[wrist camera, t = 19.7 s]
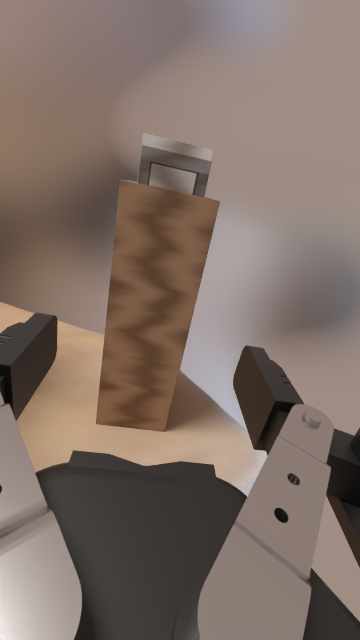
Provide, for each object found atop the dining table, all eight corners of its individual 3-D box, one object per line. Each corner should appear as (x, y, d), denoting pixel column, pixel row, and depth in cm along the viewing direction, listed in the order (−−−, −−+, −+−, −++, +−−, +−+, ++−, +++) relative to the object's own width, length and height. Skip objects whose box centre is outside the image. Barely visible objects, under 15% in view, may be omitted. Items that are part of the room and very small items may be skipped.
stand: (95, 423, 40) (126, 118, 25) (110, 373, 51) (138, 138, 36) (164, 431, 42) (233, 144, 26) (165, 380, 52) (214, 156, 37)
